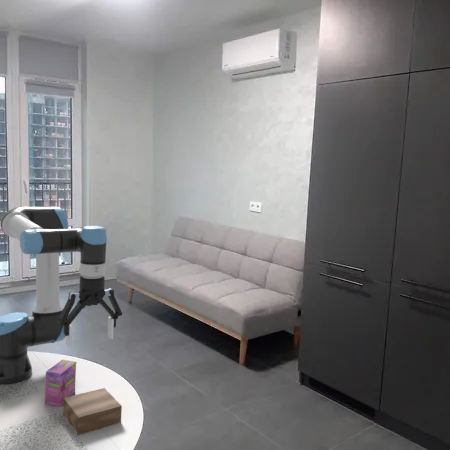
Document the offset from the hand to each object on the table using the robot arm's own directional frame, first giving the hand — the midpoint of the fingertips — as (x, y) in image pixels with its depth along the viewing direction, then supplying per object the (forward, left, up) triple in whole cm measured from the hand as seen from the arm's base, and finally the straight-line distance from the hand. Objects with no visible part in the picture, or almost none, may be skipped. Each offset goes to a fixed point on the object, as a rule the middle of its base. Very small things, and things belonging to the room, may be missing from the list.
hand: (90, 341), depth 145 cm
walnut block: (0, +1, -27) cm, 27 cm away
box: (-18, -3, -26) cm, 32 cm away
